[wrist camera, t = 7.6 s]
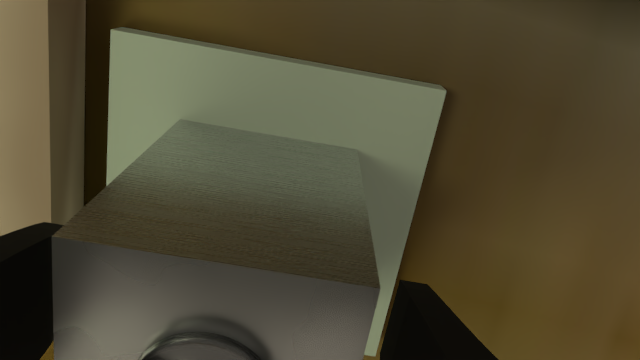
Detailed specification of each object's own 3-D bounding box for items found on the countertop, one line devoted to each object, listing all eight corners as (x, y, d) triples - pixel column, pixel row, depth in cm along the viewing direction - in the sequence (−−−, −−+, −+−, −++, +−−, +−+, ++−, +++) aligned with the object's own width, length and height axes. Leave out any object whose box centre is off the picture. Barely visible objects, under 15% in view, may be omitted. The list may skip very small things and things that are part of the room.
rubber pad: (112, 299, 17) (102, 313, 16) (122, 26, 14) (110, 29, 13) (373, 340, 18) (375, 356, 17) (440, 85, 14) (446, 90, 14)
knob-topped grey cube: (168, 273, 16) (45, 495, 9) (179, 119, 14) (37, 249, 7) (326, 297, 16) (323, 533, 9) (357, 149, 14) (383, 303, 7)
